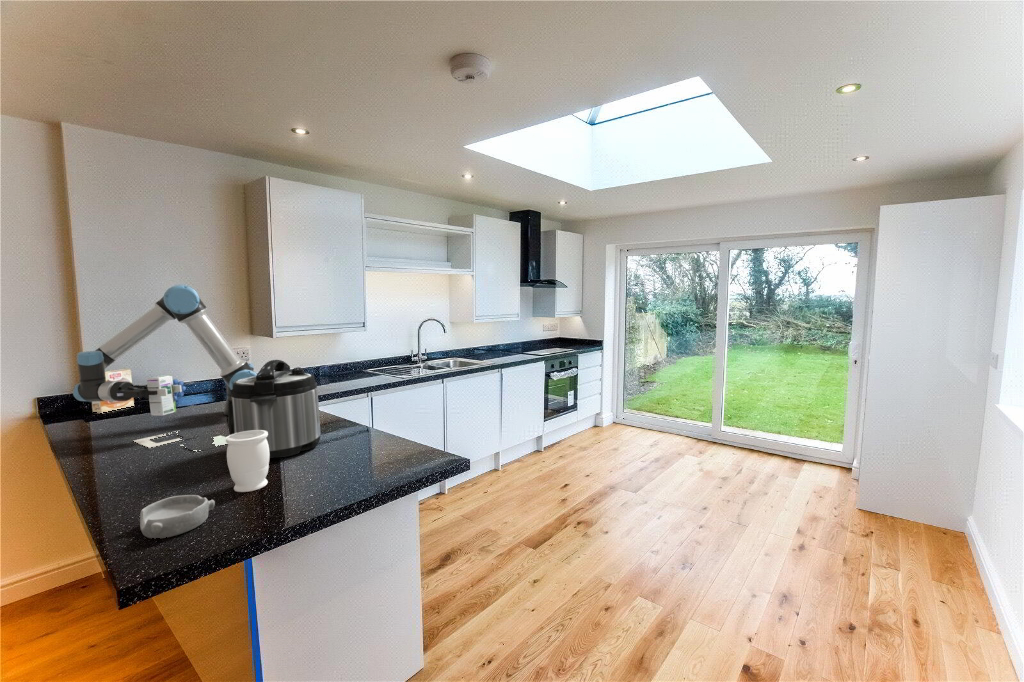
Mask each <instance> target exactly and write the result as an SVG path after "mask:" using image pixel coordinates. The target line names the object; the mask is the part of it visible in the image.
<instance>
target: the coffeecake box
mask: <svg viewBox="0 0 1024 682" xmlns="http://www.w3.org/2000/svg"><path fill="white" fill-rule="evenodd" d="M105 377H106V382H113V381H117V382H121V381H127V382H130V383H132V384H133V380H132V377H133V376H132V370H131V369H125V368H122V369H121V368H120V369H115V370H108V371H107V370H105ZM134 403H135V399H134V398H131V399H130V400H128V401H114V402H112V403H111V402H110V401H94V402H91V409H92V413H93V412H97V413H96V414H100V413H102V414H104V413H103V412H107V413H109V412H108V411H112V410H116V411H118V410H117V409H121V408H126V407H131V406H134V407H135V404H134ZM131 408H132V407H131ZM126 409H127V408H126ZM121 410H122V409H121ZM112 412H113V411H112Z"/></svg>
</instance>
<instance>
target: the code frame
mask: <svg viewBox="0 0 1024 682" xmlns="http://www.w3.org/2000/svg"><path fill="white" fill-rule="evenodd" d="M176 431H177V432H176ZM178 431H179V430H175V431H174V432H176V433H178ZM172 432H173V431H172ZM172 432H171V434H172ZM167 433H168V434H169V435H170V432H167ZM163 434H164V435H163ZM163 434H158V435H152V436H148V437H147V436H146V437H143V438H139V439H138V438H137V439H135V440H132V442H133V441H134V442H133V443H135V442H136V443H135V444H137V443H138V444H137V445H140V446H142V445H143V446H142V447H144V446H145V448H147V447H148V448H147V449H152V448H151V447H153V448H157V447H156V446H158V447H161V446H160V445H162V446H164V445H163V444H166V445H168V444H167V443H171V442H175V441H179V440H182V439H180V438H181V437H178V438H173V439H169V440H163V441H161V442H155V441H153V440H155V439H154V438H157V439H159V438H158V437H162V436H166V433H163ZM177 435H178V434H177ZM177 435H176V436H177ZM166 437H167V436H166ZM162 438H163V437H162ZM150 439H153V440H150ZM179 442H180V441H179ZM175 443H176V442H175ZM171 444H172V443H171Z"/></svg>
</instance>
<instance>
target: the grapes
mask: <svg viewBox="0 0 1024 682" xmlns="http://www.w3.org/2000/svg"><path fill="white" fill-rule="evenodd" d="M184 384H185V382H184V381H182V380H180V381H179V380H178V379H177V378H175V379H173V385H181V388H182V392H174V396H175V402H176V401H178V400H179V398H182V397H184V394H185V393H184V392H185V391H186V390H187V387H186V385H184Z"/></svg>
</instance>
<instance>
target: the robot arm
mask: <svg viewBox="0 0 1024 682" xmlns="http://www.w3.org/2000/svg"><path fill="white" fill-rule="evenodd" d="M207 311H208V307H207V306H206V305H205V303H204V302H203V300H202V299H201V297H200V296H199V293H198V292H197V291H196V290H195V289H194V288H193V287H191V286H188V285H185V284H175V285H173V286H171V287H169V288H168V289H167V290H165V292H164V294H163V296H162V297H161V298H160V299H159V300H158V301H156V302H155V303H154V307H152V308H151V309H150V310H148V311H147V312H146V313H144V314H143V315H142V316H139V318H137V319H136V320H135V321H133V322H131V324H129V325H127V327H125V328H124V329H122V330H120V332H118V333H117V334H115V335H114V336H113V337H112V338H110V339H109V340H107V341H106V342H105V343H103V344H102V345H100V346H99V347H98V348H96V349H95V350H89V351H80V352H77V354H76V363H77V369H78V375H79V382H78V383H77V384H76V385H75V386H74V388H73V390H72V395H73V397H74V398H75V399H76V400H77V401H79V402H89V403H92V402H94V401H110V402H111V403H112V402H114V401H128V400H130V399H131V398H136V399H137V398H138V399H139V398H140V399H141V398H144V399H149V395H150V396H168V393H167V389H149V391H148V387H147V384H142V385H140V384H136V385H135V384H133V382H132V383H130V382H127V381H121V382H117V381H113V382H106V377H105V372H106V369H107V368H108V367H109V366H110V365H112V364H113V363H115V361H118V359H119V358H121V357H122V356H123V355H125V354H126V353H128V352H129V351H130V350H132V349H133V348H134V347H135V346H137V345H138V344H140V343H141V342H142V341H144V340H145V339H147V338H148V337H149V336H151V334H153V333H154V332H156V331H157V330H159V329H160V328H161V327H163V326H164V325H165V324H166V323H168V322H169V321H175V320H177V321H178V323H181V324H185V326H187V328H188V329H189V331H191V333H192V334H193V335H194V337H195V338H196V340H197V341H198V342H199V343H200V344H201V346H202V347H203V349H204V350H205V351H206V352H207V354H208V355H209V357H210V358H211V359H212V361H214V363H215V364H216V365H217V367H218V369H220V377H221V378H222V380H223V381H224V382H225V386H226V387H225V388H226V399H225V400H226V401H225V403H224V407H223V414H224V415H225V416H228V399H230V398H231V390H232V389H233V385H232V383H233V382H234V381H237V380H240V379H244V378H248V377H252V376H257V374H258V373H256V372H255V371H254V370H255V368H254V364H253V363H249V362H248V361H247V360H244V359H241V358H240V357H239V355H238V354H237V353H236V351H235V350H234V349H233V347H232V345H230V343H229V342H228V341H227V340H226V338H225V337H224V336H223V333H221V331H220V330H219V328H217V326H216V324H215V323H214V322H213V321H212V319H211V318H210V317H209V315H208V314H207ZM173 387H174V392H182V388H181V385H173Z"/></svg>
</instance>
